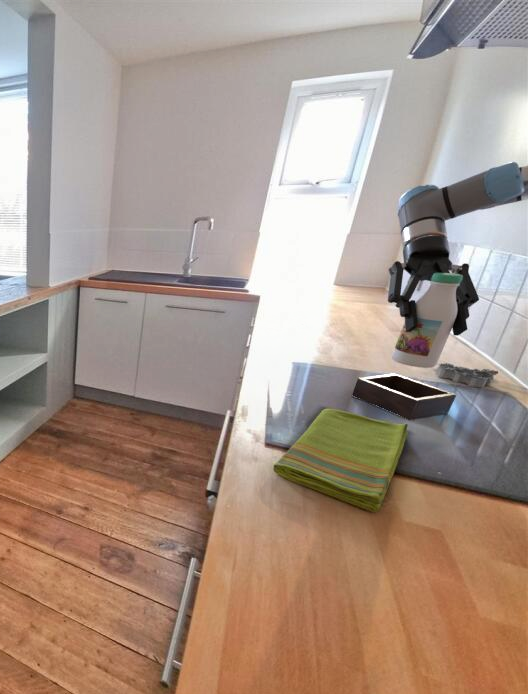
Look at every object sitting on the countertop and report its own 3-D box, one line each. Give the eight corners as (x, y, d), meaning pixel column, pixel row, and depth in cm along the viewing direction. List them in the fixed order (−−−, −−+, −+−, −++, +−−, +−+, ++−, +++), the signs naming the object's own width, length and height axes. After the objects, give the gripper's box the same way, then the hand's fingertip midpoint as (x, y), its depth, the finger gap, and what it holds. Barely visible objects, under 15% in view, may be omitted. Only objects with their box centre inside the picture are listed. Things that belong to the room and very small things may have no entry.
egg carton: (494, 385, 112) (502, 371, 110) (477, 389, 110) (484, 375, 108) (447, 371, 121) (453, 358, 119) (430, 374, 119) (435, 361, 117)
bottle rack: (447, 413, 97) (456, 394, 95) (408, 420, 94) (417, 400, 92) (387, 391, 109) (394, 373, 107) (351, 396, 106) (357, 378, 104)
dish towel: (269, 474, 75) (274, 459, 74) (321, 412, 97) (325, 400, 96) (377, 517, 65) (384, 500, 63) (407, 436, 87) (413, 423, 86)
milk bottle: (413, 356, 98) (448, 271, 90) (445, 368, 91) (486, 276, 83) (381, 357, 98) (413, 271, 90) (411, 369, 91) (448, 276, 83)
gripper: (468, 257, 96) (483, 343, 89) (363, 254, 102) (369, 334, 95) (494, 234, 89) (513, 325, 82) (380, 233, 95) (388, 317, 88)
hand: (435, 330), depth 88 cm, fingers closed on milk bottle, 8 cm apart
